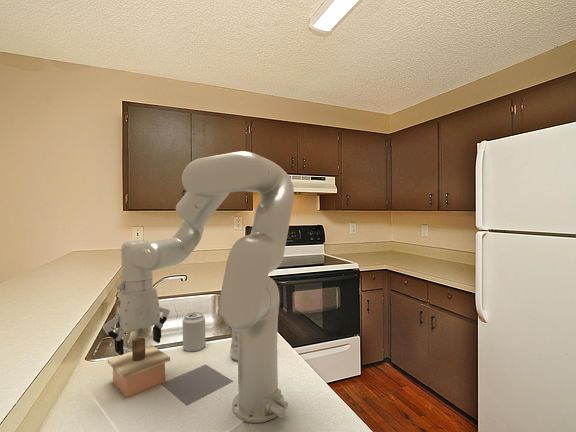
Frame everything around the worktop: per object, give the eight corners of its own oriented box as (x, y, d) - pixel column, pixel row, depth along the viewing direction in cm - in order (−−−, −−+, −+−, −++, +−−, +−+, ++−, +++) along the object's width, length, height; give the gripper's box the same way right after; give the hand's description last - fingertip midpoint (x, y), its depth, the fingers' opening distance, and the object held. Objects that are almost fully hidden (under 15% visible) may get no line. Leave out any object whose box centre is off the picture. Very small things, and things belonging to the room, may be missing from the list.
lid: (170, 360, 84) (169, 339, 84) (123, 378, 75) (123, 354, 75) (151, 348, 92) (151, 328, 92) (107, 362, 83) (107, 341, 83)
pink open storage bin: (165, 382, 84) (164, 361, 84) (126, 399, 77) (126, 375, 77) (149, 370, 91) (149, 350, 91) (113, 384, 84) (112, 362, 83)
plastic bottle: (240, 352, 102) (239, 293, 102) (255, 357, 98) (254, 296, 98) (225, 360, 97) (225, 297, 96) (241, 366, 93) (240, 301, 92)
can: (197, 342, 110) (196, 309, 110) (209, 347, 106) (209, 313, 105) (178, 349, 104) (178, 314, 104) (191, 355, 100) (190, 319, 100)
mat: (233, 383, 83) (233, 381, 83) (186, 407, 73) (186, 405, 73) (205, 365, 93) (205, 364, 93) (160, 385, 83) (160, 383, 83)
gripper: (107, 294, 75) (108, 363, 75) (174, 281, 87) (175, 341, 87) (97, 289, 80) (99, 354, 80) (162, 278, 92) (163, 334, 92)
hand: (139, 347), depth 84 cm, fingers open, 9 cm apart
